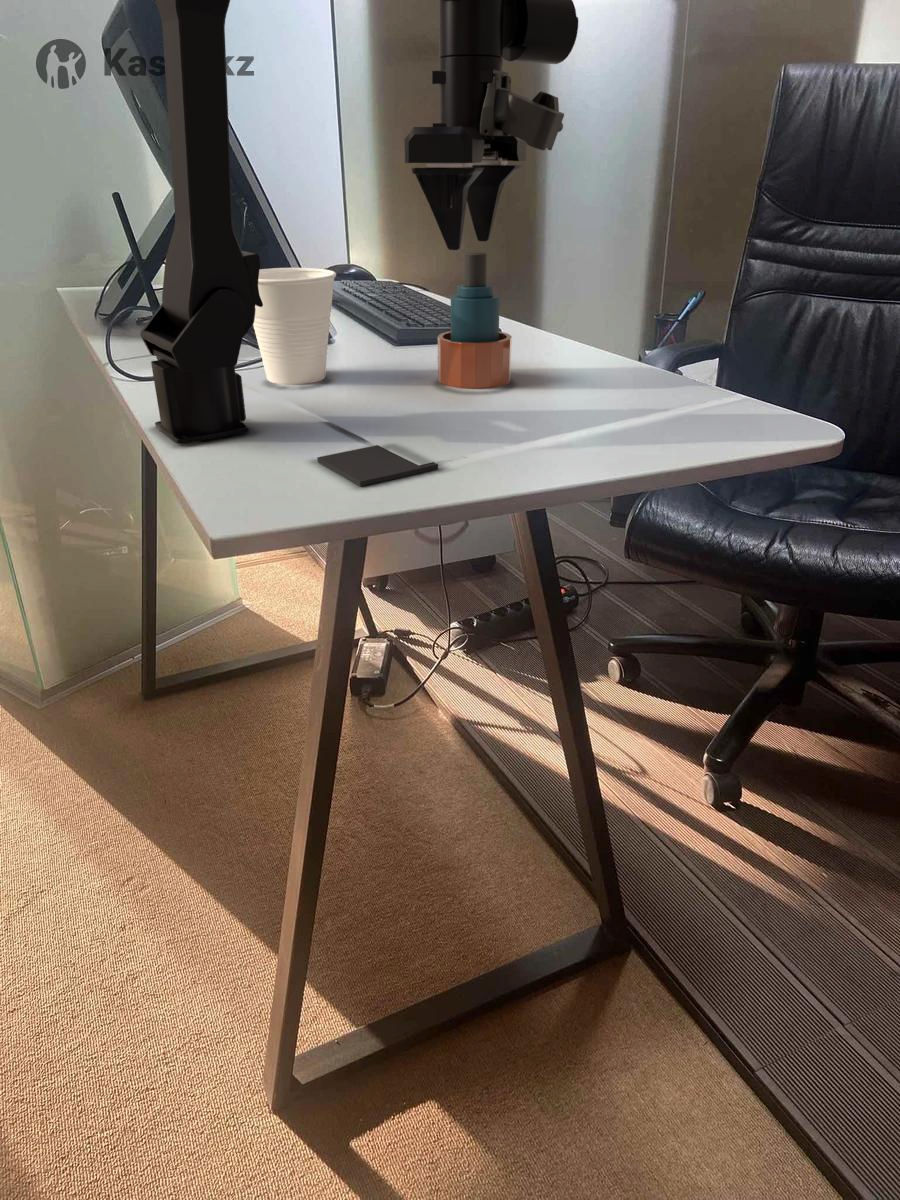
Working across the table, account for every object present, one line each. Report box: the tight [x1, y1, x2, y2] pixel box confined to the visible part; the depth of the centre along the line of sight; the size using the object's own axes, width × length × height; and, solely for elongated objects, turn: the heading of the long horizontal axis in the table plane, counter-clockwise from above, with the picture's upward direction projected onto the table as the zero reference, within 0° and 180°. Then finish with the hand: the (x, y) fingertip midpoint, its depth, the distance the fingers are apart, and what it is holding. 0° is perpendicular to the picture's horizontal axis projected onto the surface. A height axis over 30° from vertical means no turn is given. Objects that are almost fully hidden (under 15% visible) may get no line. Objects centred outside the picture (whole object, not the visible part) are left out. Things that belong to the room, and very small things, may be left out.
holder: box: [437, 330, 513, 390], centre depth 90 cm, size 8×8×5 cm
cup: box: [253, 267, 337, 385], centre depth 90 cm, size 10×10×11 cm
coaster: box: [316, 444, 439, 487], centre depth 68 cm, size 7×7×1 cm
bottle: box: [450, 252, 501, 343], centre depth 88 cm, size 5×5×12 cm
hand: (469, 245), depth 84 cm, fingers open, 9 cm apart
